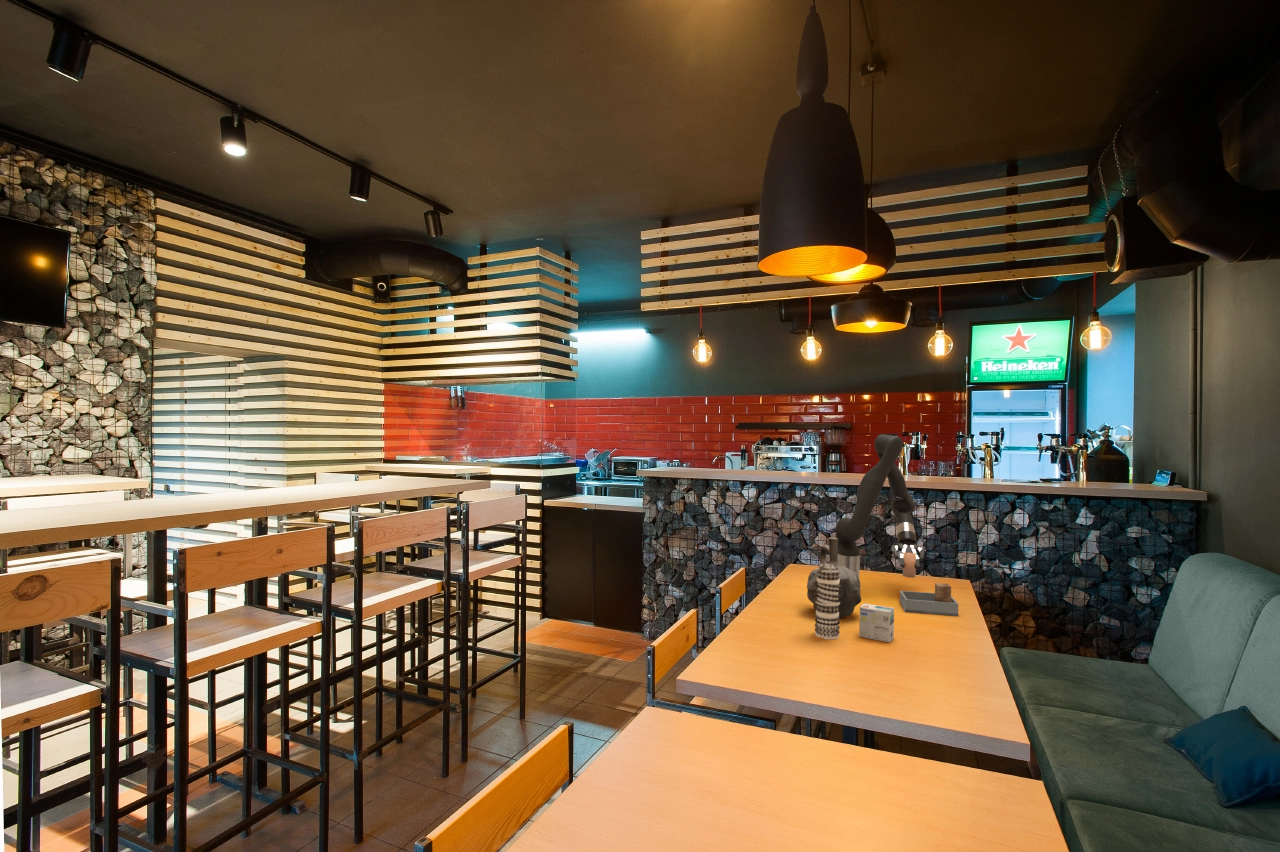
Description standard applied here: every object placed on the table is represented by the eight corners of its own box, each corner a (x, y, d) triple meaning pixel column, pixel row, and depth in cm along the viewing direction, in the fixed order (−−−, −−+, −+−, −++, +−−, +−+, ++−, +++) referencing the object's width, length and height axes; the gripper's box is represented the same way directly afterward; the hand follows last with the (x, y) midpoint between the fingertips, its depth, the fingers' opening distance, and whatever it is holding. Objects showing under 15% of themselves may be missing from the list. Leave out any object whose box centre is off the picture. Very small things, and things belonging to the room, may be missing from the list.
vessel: (790, 606, 265) (791, 533, 265) (835, 602, 272) (836, 531, 272) (826, 624, 242) (827, 544, 242) (874, 619, 249) (875, 542, 249)
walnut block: (937, 610, 259) (937, 585, 259) (934, 607, 264) (935, 583, 264) (950, 611, 258) (951, 586, 258) (947, 608, 263) (948, 583, 262)
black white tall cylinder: (810, 637, 227) (812, 566, 227) (816, 629, 236) (818, 561, 235) (837, 641, 223) (838, 569, 223) (842, 633, 231) (843, 564, 231)
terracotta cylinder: (903, 577, 277) (904, 553, 277) (901, 574, 282) (902, 551, 282) (916, 578, 276) (917, 554, 276) (914, 575, 281) (914, 552, 281)
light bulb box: (894, 637, 228) (894, 607, 228) (890, 643, 223) (890, 611, 222) (863, 632, 234) (863, 602, 234) (858, 637, 228) (859, 606, 228)
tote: (905, 612, 260) (905, 599, 260) (899, 602, 274) (899, 590, 274) (958, 616, 255) (958, 603, 255) (949, 606, 270) (949, 594, 269)
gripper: (890, 529, 288) (893, 561, 276) (924, 531, 285) (929, 564, 273) (888, 538, 293) (891, 571, 281) (922, 541, 290) (926, 573, 278)
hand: (910, 567), depth 277 cm, fingers closed on terracotta cylinder, 5 cm apart
